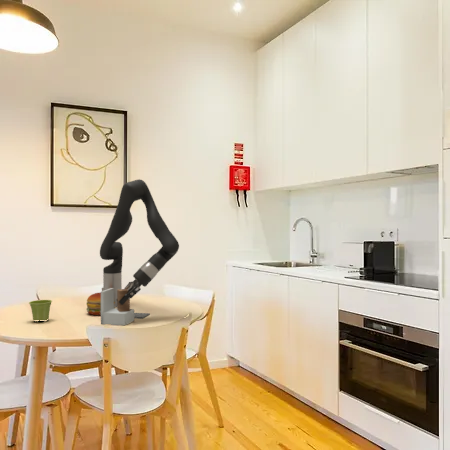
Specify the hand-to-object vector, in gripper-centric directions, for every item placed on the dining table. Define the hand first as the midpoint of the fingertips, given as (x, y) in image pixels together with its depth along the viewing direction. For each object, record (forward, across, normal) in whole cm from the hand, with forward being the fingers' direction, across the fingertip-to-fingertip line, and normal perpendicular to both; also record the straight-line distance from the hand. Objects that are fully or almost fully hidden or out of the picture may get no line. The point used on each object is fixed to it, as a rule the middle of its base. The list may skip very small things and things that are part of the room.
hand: (119, 302), depth 196 cm
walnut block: (+1, 0, -4) cm, 4 cm away
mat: (-1, +9, -13) cm, 16 cm away
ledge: (+7, 0, -6) cm, 9 cm away
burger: (+9, +22, -3) cm, 24 cm away
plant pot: (+28, +16, +16) cm, 36 cm away
